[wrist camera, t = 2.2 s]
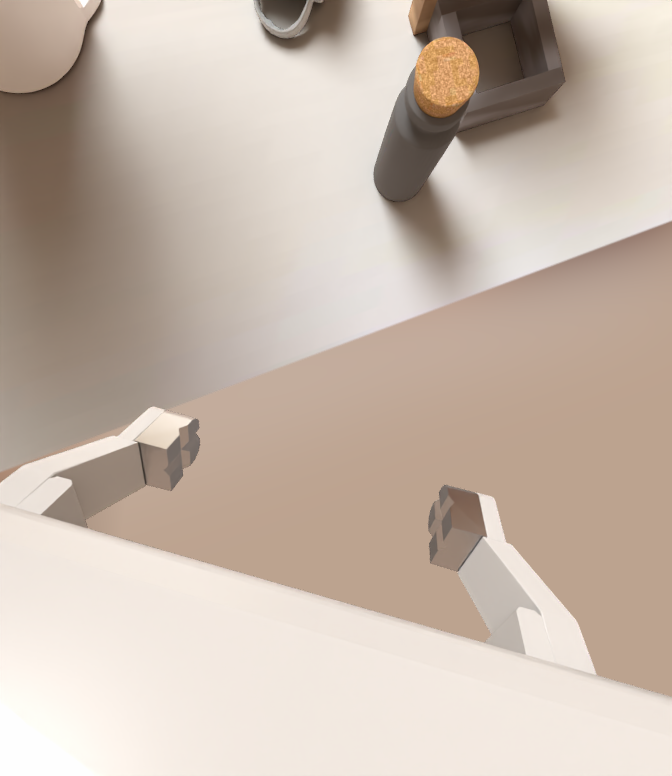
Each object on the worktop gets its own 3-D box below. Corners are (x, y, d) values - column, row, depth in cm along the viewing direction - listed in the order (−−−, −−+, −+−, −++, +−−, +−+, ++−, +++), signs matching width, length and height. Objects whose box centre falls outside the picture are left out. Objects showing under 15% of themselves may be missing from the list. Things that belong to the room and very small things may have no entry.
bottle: (370, 199, 40) (404, 109, 25) (375, 145, 40) (412, 20, 25) (420, 205, 41) (482, 120, 26) (426, 151, 40) (492, 33, 25)
